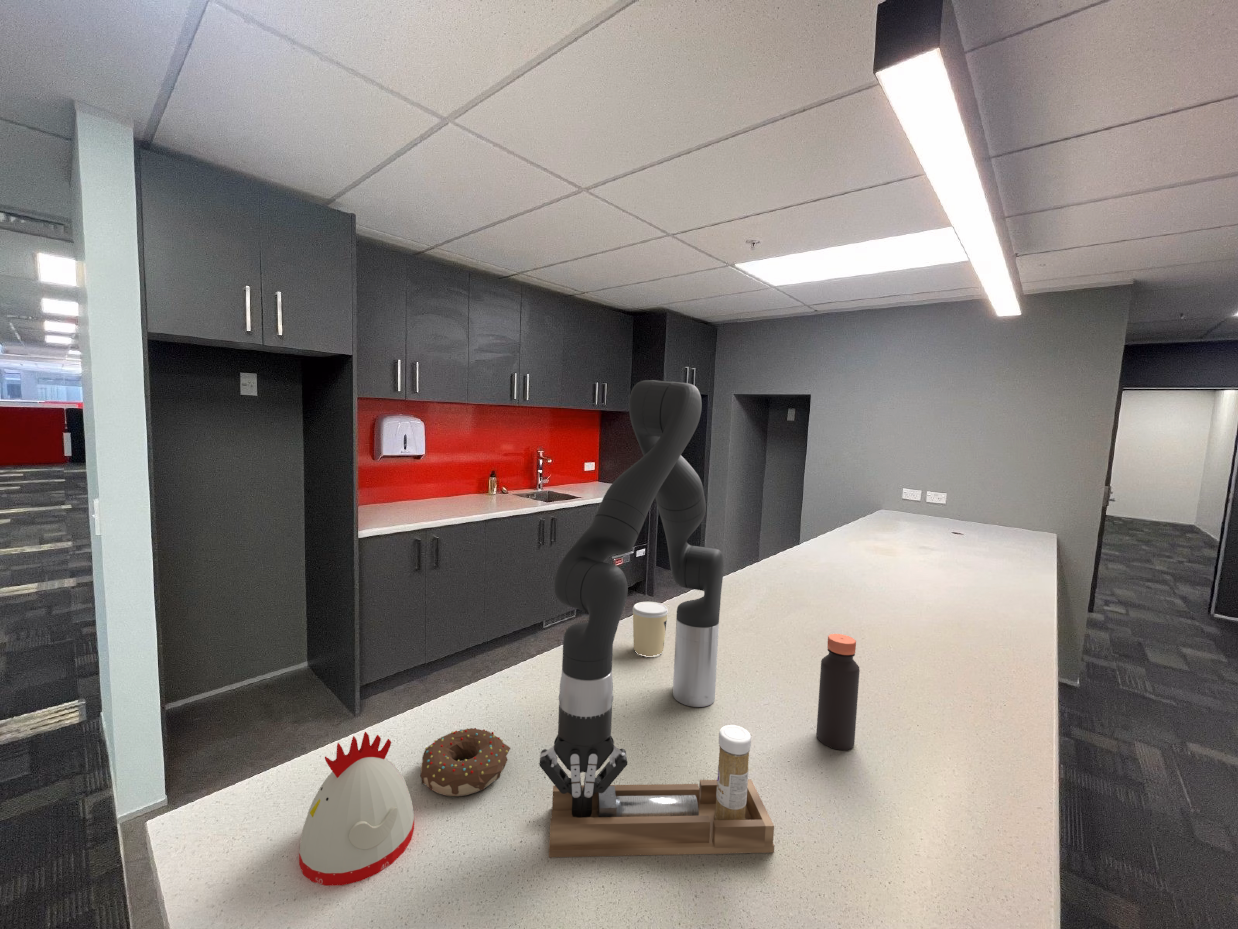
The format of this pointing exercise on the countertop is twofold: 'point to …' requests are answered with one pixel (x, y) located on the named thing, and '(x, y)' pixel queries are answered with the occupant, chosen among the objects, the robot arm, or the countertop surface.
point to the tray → (660, 826)
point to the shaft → (645, 805)
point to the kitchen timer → (356, 817)
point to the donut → (463, 762)
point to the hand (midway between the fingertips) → (581, 817)
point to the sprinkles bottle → (732, 773)
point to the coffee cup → (649, 627)
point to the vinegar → (838, 694)
